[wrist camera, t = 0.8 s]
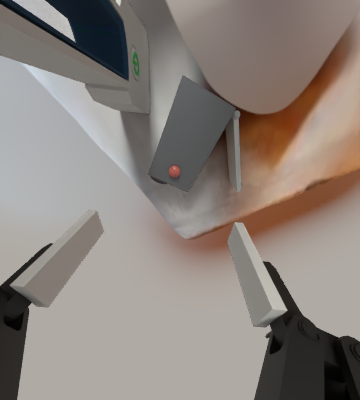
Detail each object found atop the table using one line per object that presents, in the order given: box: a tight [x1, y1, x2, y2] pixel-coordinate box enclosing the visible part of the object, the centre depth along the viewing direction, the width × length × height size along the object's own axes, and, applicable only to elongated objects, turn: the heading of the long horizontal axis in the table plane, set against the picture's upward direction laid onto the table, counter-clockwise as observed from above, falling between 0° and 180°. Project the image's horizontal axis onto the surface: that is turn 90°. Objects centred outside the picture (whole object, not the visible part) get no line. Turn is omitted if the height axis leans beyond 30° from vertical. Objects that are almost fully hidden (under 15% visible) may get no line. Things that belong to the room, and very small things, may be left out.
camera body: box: [148, 76, 236, 192], centre depth 30 cm, size 20×10×10 cm, turn 155°
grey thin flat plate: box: [225, 111, 242, 192], centre depth 31 cm, size 17×2×7 cm, turn 15°
